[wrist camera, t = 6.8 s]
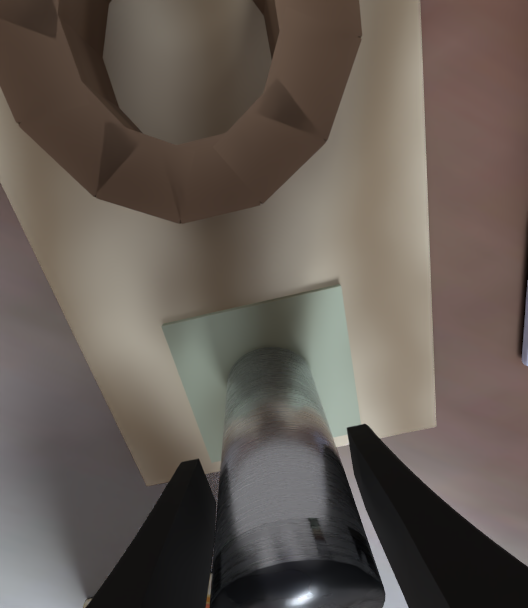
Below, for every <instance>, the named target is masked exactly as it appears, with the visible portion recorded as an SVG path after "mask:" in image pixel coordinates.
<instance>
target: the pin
mask: <svg viewBox="0 0 528 608" xmlns="http://www.w3.org/2000/svg"><path fill="white" fill-rule="evenodd" d="M384 602H385V591H384V587H383V584H382V581H381V578H380V575H379V572H378V569H377V566H376V563H375V560H374V557H373V554H372V551H371V548H370V545H369V543H368V540H367V537H366V534H365V531H364V528H363V525H362V522H361V519H360V516H359V513H358V510H357V507H356V504H355V501H354V498H353V495H352V492H351V489H350V486H349V483H348V480H347V477H346V474H345V471H344V468H343V465H342V462H341V459H340V456H339V454H338V451H337V448H336V445H335V442H334V439H333V436H332V433H331V430H330V427H329V424H328V421H327V418H326V415H325V412H324V409H323V406H322V403H321V400H320V397H319V394H318V391H317V388H316V385H315V382H314V379H313V376H312V373H311V370H310V368H309V366H308V364H307V363H306V362H305V360H304V359H303V358H302V357H300V356H299V355H298V354H296V353H294V352H292V351H290V350H287V349H284V348H279V347H266V348H260V349H256V350H253V351H251V352H249V353H247V354H245V355H244V356H242V357H241V358H240V359H239V360H238V361H237V362H236V363H235V364H234V365H233V367H232V368H231V370H230V372H229V375H228V379H227V391H226V404H225V417H224V429H223V442H222V455H221V467H220V480H219V493H218V506H217V518H216V531H215V544H214V557H213V569H212V582H211V595H210V607H209V608H382V607H383V605H384Z"/></svg>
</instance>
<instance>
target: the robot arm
mask: <svg viewBox="0 0 528 608" xmlns="http://www.w3.org/2000/svg"><path fill="white" fill-rule="evenodd" d="M522 362H523V364H525V365H526V366H528V282H527V295H526V309H525V322H524V336H523V349H522ZM347 434H348V440H349V446H350V452H351V458H352V464H353V470H354V475H355V478H356V481H357V484H358V487H359V490H360V493H361V496H362V499H363V502H364V505H365V508H366V511H367V513H368V515H369V517H370V520H371V522H372V524H373V527H374V529H375V531H376V533H377V536H378V538H379V540H380V543H381V545H382V547H383V549H384V552H385V554H386V556H387V559H388V561H389V563H390V565H391V568H392V570H393V572H394V574H395V577H396V579H397V581H398V584H399V586H400V588H401V590H402V593H403V595H404V597H405V600H406V602H407V605H408V607H409V608H528V567H527V566H526V565H525V564H523V563H522V562H520V561H519V560H518V559H516V558H515V557H514V556H512V555H511V554H510V553H508V552H507V551H506V550H504V549H503V548H502V547H500V546H499V545H498V544H496V543H495V542H494V541H492V540H491V539H490V538H489V537H487V536H486V535H485V534H483V533H482V532H481V531H480V530H478V529H477V528H476V527H475V526H473V525H472V524H471V523H470V522H468V521H467V520H466V519H465V518H463V517H462V516H461V515H460V514H459V513H457V512H456V511H455V510H454V509H453V508H451V507H450V506H449V505H448V504H447V503H446V502H445V501H443V500H442V499H441V498H440V497H439V496H438V495H437V494H435V493H434V492H433V491H432V490H431V489H430V488H429V487H428V486H427V485H426V484H424V483H423V482H422V481H421V480H420V479H419V478H418V477H417V476H416V475H415V474H414V473H413V472H412V471H411V470H410V469H409V468H408V467H407V466H406V465H404V464H403V463H402V462H401V461H400V460H399V459H398V457H397V456H396V455H395V454H394V453H393V452H392V451H391V450H390V449H389V448H388V447H387V446H386V445H385V444H384V443H383V442H382V441H381V439H380V438H379V437H378V436H377V435H376V434H375V433H374V432H373V430H372V429H371V428H370V427H369V426H368V425H366V424H361V425H357V426H352V427H347ZM215 519H216V501H215V499H214V496H213V494H212V491H211V488H210V486H209V483H208V481H207V478H206V475H205V473H204V470H203V468H202V465H201V462H200V460H199V459H194V460H189V461H184V462H181V463H180V465H179V466H178V468H177V469H176V471H175V473H174V474H173V476H172V478H171V479H170V481H169V483H168V484H167V486H166V488H165V490H164V491H163V493H162V495H161V496H160V498H159V500H158V501H157V503H156V505H155V506H154V508H153V509H152V511H151V513H150V514H149V516H148V517H147V519H146V521H145V522H144V524H143V525H142V527H141V529H140V530H139V532H138V533H137V535H136V537H135V538H134V540H133V541H132V543H131V544H130V546H129V547H128V549H127V550H126V551H125V553H124V554H123V556H122V557H121V559H120V560H119V562H118V563H117V565H116V566H115V568H114V569H113V571H112V572H111V574H110V575H109V576H108V578H107V579H106V581H105V582H104V583H103V585H102V586H101V588H100V589H99V590H98V592H97V593H96V594H95V596H94V597H93V598H92V600H91V601H90V602H89V604H88V605H87V606H86V608H206V601H207V594H208V586H209V579H210V572H211V564H212V556H213V549H214V541H215Z"/></svg>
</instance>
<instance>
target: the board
mask: <svg viewBox="0 0 528 608" xmlns="http://www.w3.org/2000/svg"><path fill="white" fill-rule="evenodd" d="M0 183H1V185H2V187H3V189H4V191H5V193H6V195H7V197H8V199H9V201H10V204H11V206H12V208H13V210H14V212H15V214H16V216H17V218H18V220H19V222H20V224H21V226H22V228H23V231H24V233H25V235H26V237H27V239H28V241H29V243H30V245H31V247H32V249H33V251H34V253H35V255H36V258H37V260H38V262H39V264H40V266H41V268H42V270H43V272H44V274H45V276H46V278H47V280H48V282H49V284H50V287H51V289H52V291H53V293H54V295H55V297H56V299H57V301H58V303H59V305H60V307H61V309H62V311H63V314H64V316H65V318H66V320H67V322H68V324H69V326H70V328H71V330H72V332H73V334H74V336H75V338H76V341H77V343H78V345H79V347H80V349H81V351H82V353H83V355H84V357H85V359H86V361H87V363H88V365H89V367H90V370H91V372H92V374H93V376H94V378H95V380H96V382H97V384H98V386H99V388H100V390H101V392H102V394H103V397H104V399H105V401H106V403H107V405H108V407H109V409H110V411H111V413H112V415H113V417H114V419H115V421H116V424H117V426H118V428H119V430H120V432H121V434H122V436H123V438H124V440H125V442H126V444H127V446H128V448H129V450H130V453H131V455H132V457H133V459H134V461H135V463H136V465H137V467H138V469H139V471H140V473H141V475H142V477H143V480H144V482H145V484H146V486H152V485H157V484H161V483H166V482H169V481H170V479H171V478H172V476H173V474H174V473H175V471H176V469H177V468H178V466H179V465H180V463H181V462H184V461H189V460H194V459H199V460H200V462H201V465H202V468H203V470H204V473H205V474H210V473H215V472H219V471H220V467H221V455H222V442H223V429H224V417H225V404H226V391H227V379H228V375H229V372H230V370H231V368H232V367H233V365H234V364H235V363H236V362H237V361H238V360H239V359H240V358H241V357H242V356H244V355H245V354H247V353H249V352H251V351H253V350H256V349H260V348H266V347H279V348H284V349H287V350H290V351H292V352H294V353H296V354H298V355H299V356H300V357H302V358H303V359H304V360H305V362H306V363H307V364H308V366H309V368H310V370H311V373H312V376H313V379H314V382H315V385H316V388H317V391H318V394H319V397H320V400H321V403H322V406H323V409H324V412H325V415H326V418H327V421H328V424H329V427H330V430H331V433H332V436H333V439H334V442H335V445H336V447H340V446H345V445H349V440H348V434H347V427H352V426H357V425H361V424H366V425H368V426H369V427H370V428H371V429H372V430H373V432H374V433H375V434H376V435H377V436H378V437H379V438H384V437H388V436H393V435H398V434H403V433H408V432H413V431H417V430H422V429H427V428H432V427H436V404H435V378H434V352H433V325H432V299H431V273H430V246H429V220H428V194H427V167H426V141H425V115H424V88H423V62H422V36H421V9H420V0H0Z"/></svg>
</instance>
